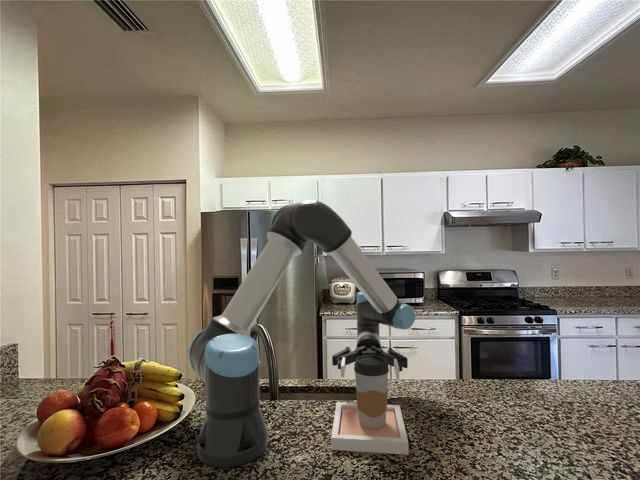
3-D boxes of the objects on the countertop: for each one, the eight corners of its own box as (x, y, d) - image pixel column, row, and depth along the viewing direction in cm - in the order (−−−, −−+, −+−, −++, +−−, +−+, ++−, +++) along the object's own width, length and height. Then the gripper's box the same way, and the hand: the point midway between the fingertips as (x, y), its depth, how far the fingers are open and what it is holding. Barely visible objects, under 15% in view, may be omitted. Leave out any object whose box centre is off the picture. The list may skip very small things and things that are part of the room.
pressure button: (339, 441, 74) (339, 437, 74) (342, 412, 87) (342, 408, 87) (399, 445, 72) (399, 440, 72) (393, 415, 85) (393, 411, 85)
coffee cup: (387, 414, 83) (386, 354, 83) (392, 433, 75) (391, 366, 75) (354, 413, 84) (353, 354, 84) (355, 432, 76) (354, 366, 76)
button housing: (331, 449, 72) (331, 437, 72) (336, 412, 88) (336, 402, 88) (408, 454, 70) (408, 442, 70) (399, 415, 86) (399, 405, 86)
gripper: (409, 359, 102) (421, 389, 81) (329, 357, 105) (320, 385, 84) (409, 335, 102) (421, 358, 81) (328, 333, 105) (319, 355, 84)
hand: (369, 372), depth 82 cm, fingers open, 13 cm apart
